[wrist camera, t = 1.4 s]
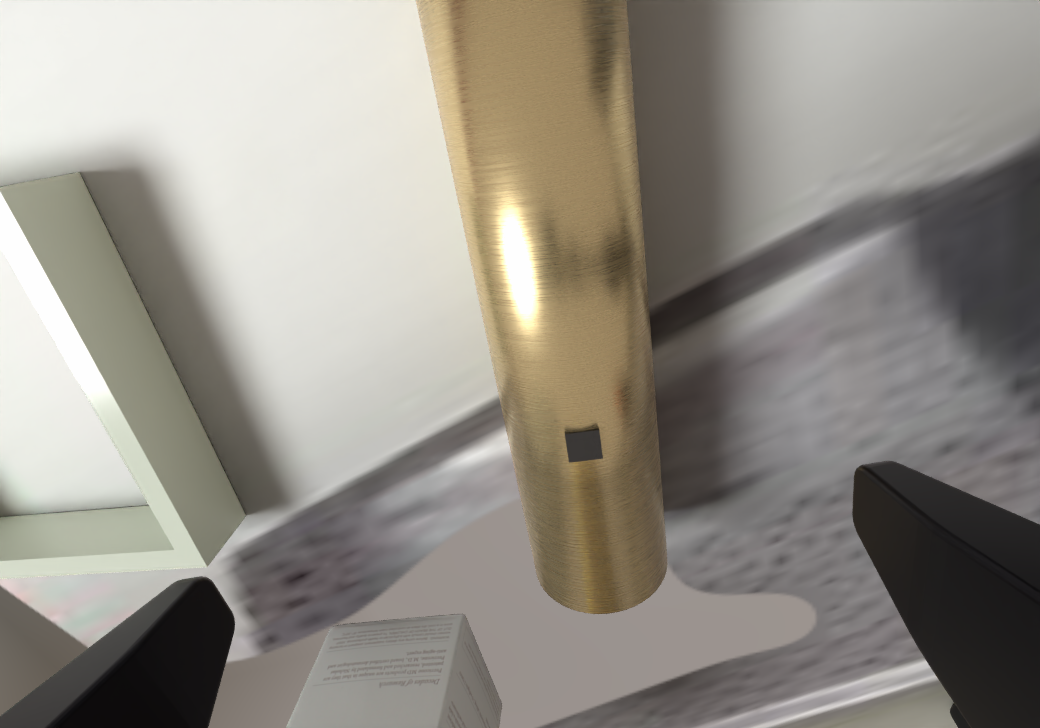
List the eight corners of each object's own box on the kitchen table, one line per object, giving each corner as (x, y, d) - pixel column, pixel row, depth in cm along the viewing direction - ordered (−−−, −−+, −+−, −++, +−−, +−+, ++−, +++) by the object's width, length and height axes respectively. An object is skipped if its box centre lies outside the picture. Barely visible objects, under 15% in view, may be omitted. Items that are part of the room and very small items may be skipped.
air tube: (405, -128, 15) (347, -224, 10) (597, -172, 14) (626, -293, 10) (535, 521, 24) (535, 621, 20) (653, 507, 24) (681, 607, 19)
